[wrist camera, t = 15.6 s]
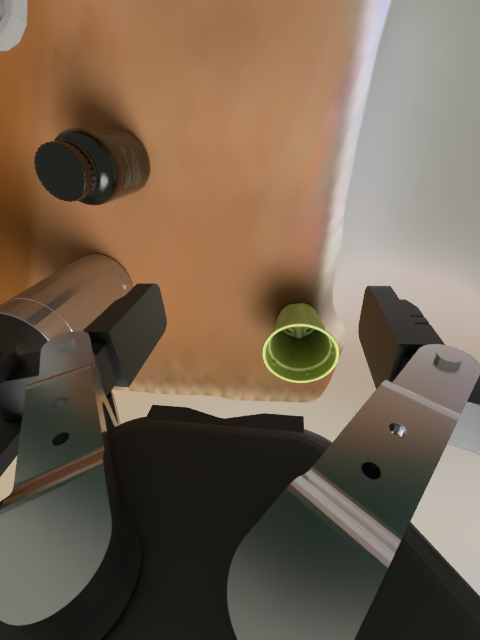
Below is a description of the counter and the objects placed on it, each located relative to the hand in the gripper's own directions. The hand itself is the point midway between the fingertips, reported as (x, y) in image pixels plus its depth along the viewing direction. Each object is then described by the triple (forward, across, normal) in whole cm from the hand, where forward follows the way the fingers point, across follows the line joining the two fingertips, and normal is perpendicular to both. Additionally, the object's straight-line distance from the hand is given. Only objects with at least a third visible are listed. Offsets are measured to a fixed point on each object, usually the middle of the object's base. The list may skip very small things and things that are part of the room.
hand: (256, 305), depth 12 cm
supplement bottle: (+28, +19, -4) cm, 34 cm away
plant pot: (+28, -3, +18) cm, 34 cm away
